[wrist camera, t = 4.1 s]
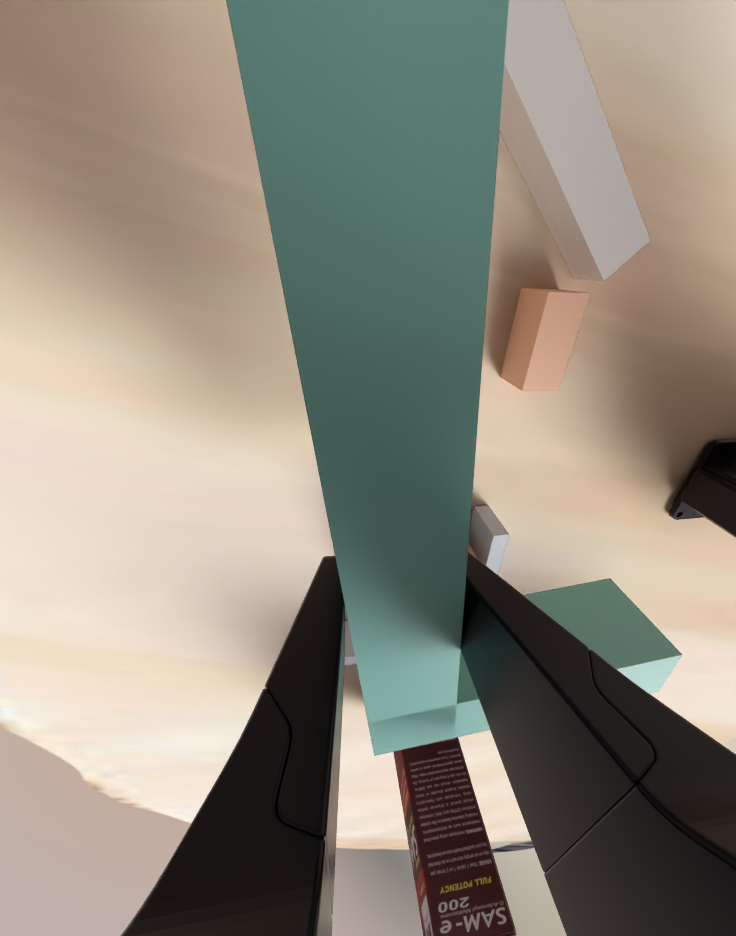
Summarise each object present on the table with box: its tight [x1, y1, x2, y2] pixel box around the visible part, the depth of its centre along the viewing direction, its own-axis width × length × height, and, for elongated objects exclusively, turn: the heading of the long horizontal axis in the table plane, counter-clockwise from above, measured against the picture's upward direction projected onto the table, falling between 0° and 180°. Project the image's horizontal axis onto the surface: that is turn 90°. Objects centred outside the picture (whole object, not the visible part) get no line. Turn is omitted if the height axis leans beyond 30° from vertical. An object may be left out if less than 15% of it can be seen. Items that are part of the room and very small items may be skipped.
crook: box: [226, 0, 682, 756], centre depth 8 cm, size 9×16×3 cm, turn 5°
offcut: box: [500, 288, 591, 391], centre depth 18 cm, size 2×4×2 cm, turn 177°
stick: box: [499, 0, 650, 281], centre depth 14 cm, size 2×10×2 cm, turn 43°
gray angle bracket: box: [344, 505, 509, 665], centre depth 25 cm, size 12×12×3 cm
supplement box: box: [394, 737, 516, 936], centre depth 28 cm, size 9×5×16 cm, turn 2°
